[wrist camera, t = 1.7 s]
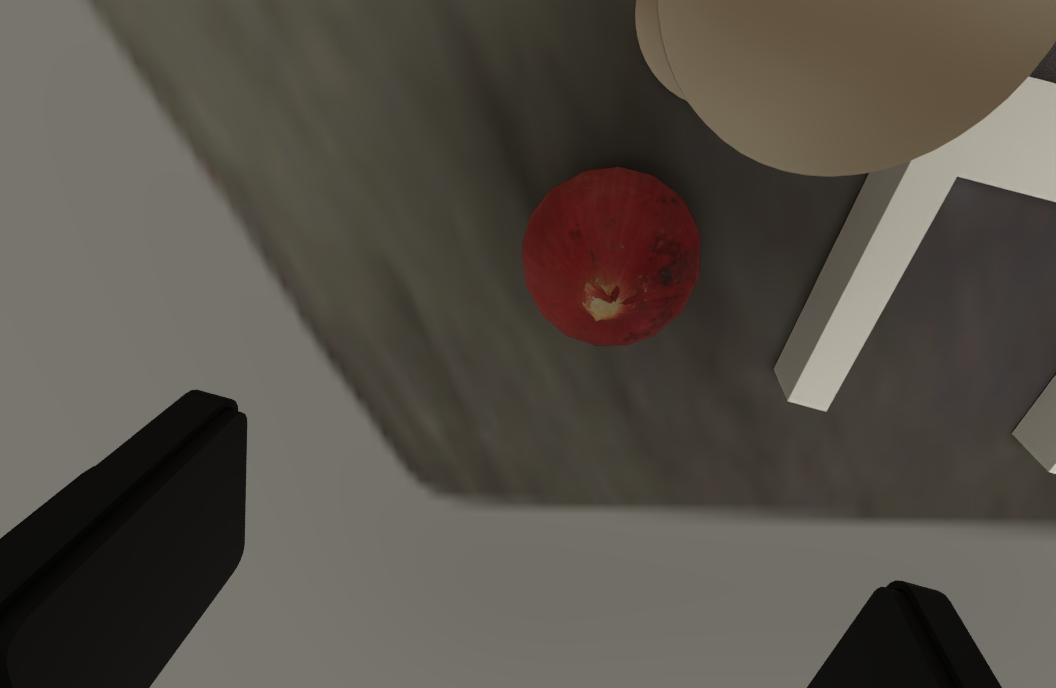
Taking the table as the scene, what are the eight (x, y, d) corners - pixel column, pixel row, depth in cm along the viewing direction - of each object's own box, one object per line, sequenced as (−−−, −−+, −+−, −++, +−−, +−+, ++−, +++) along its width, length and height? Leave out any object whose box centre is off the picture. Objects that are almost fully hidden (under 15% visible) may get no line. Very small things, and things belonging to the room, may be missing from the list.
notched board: (925, 56, 20) (963, 60, 18) (1280, 147, 20) (1363, 162, 17) (773, 369, 25) (787, 401, 23) (1047, 443, 25) (1088, 482, 23)
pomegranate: (689, 141, 22) (719, 193, 15) (690, 291, 24) (716, 397, 17) (529, 157, 23) (486, 212, 16) (545, 300, 25) (514, 402, 18)
